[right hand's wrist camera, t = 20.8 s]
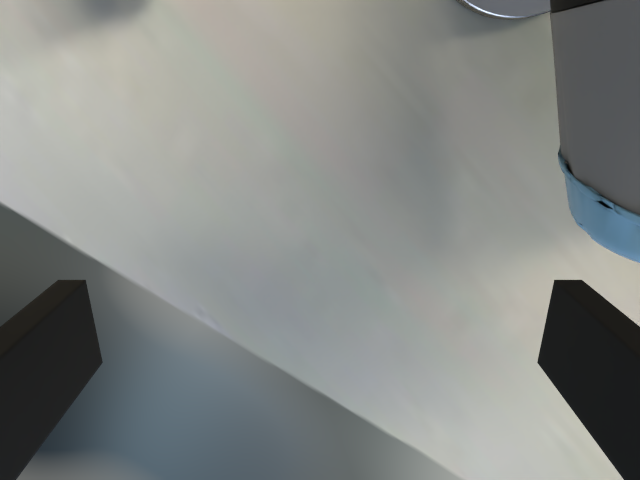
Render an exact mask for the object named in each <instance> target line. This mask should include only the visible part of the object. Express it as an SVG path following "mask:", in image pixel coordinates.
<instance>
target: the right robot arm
mask: <svg viewBox="0 0 640 480" xmlns="http://www.w3.org/2000/svg"><path fill="white" fill-rule="evenodd" d="M457 1H458V2H459V3H460V4H462V5H463V6H465V7H466V8H468V9H470V10H472V11H474V12H476V13H478V14H481V15H484V16H487V17H491V18H497V19H521V18H527V17H532V16H536V15H539V14H543V13H547V12H549V11H551V12H552V13H550V17H551V28H552V40H553V51H554V63H555V77H556V91H557V105H558V119H559V133H560V149H559V152H558V160H559V164H560V167H561V169H562V171H563V173H564V174H565V181H566V188H567V195H568V202H569V207H570V211H571V214H572V216H573V218H574V220H575V221H576V223H577V224H578V225H579V226H580V227H581V228H582V229H583V230H585V231H586V232H587V233H588V234H589V235H590V237H591V238H592V239H593V240H594V241H596V242H597V243H598V244H600V245H602V246H603V247H605V248H607V249H609V250H610V251H612V252H614V253H616V254H618V255H621V256H623V257H625V258H628V259H630V260H633V261H636V262H639V263H640V0H457ZM101 364H102V357H101V353H100V348H99V343H98V338H97V333H96V328H95V324H94V319H93V314H92V309H91V304H90V299H89V294H88V290H87V285H86V280H58V281H56V282H55V283H54V284H53V285H51V286H50V287H49V288H48V289H47V290H45V291H44V292H43V293H42V294H40V295H39V296H38V297H37V298H35V299H34V300H33V301H32V302H30V303H29V304H28V305H27V306H26V307H24V308H23V309H22V310H21V311H19V312H18V313H17V314H16V315H14V316H13V317H12V318H11V319H10V320H8V321H7V322H6V323H5V324H3V325H2V326H1V327H0V480H16V479H17V478H18V476H19V475H20V474H21V472H22V471H23V469H24V468H25V467H26V465H27V464H28V463H29V461H30V460H31V459H32V457H33V456H34V455H35V453H36V452H37V451H38V449H39V448H40V446H41V445H42V444H43V442H44V441H45V440H46V438H47V437H48V436H49V434H50V433H51V432H52V430H53V429H54V427H55V426H56V425H57V423H58V422H59V421H60V419H61V418H62V417H63V415H64V414H65V413H66V411H67V410H68V409H69V407H70V406H71V404H72V403H73V402H74V400H75V399H76V398H77V396H78V395H79V394H80V392H81V391H82V390H83V388H84V387H85V385H86V384H87V383H88V381H89V380H90V379H91V377H92V376H93V375H94V373H95V372H96V371H97V369H98V368H99V367H100V365H101ZM538 364H539V365H540V367H541V368H542V369H543V371H544V372H545V373H546V375H547V376H548V377H549V379H550V380H551V381H552V383H553V384H554V386H555V387H556V388H557V390H558V391H559V392H560V394H561V395H562V396H563V398H564V399H565V400H566V402H567V403H568V404H569V406H570V407H571V409H572V410H573V411H574V413H575V414H576V415H577V417H578V418H579V419H580V421H581V422H582V423H583V425H584V426H585V427H586V429H587V430H588V432H589V433H590V434H591V436H592V437H593V438H594V440H595V441H596V442H597V444H598V445H599V446H600V448H601V449H602V451H603V452H604V453H605V455H606V456H607V457H608V459H609V460H610V461H611V463H612V464H613V465H614V467H615V468H616V469H617V471H618V472H619V474H620V475H621V476H622V478H623V479H624V480H640V327H639V326H638V325H637V324H636V323H634V322H633V321H632V320H631V319H629V318H628V317H627V316H626V315H624V314H623V313H622V312H621V311H619V310H618V309H617V308H616V307H615V306H613V305H612V304H611V303H610V302H608V301H607V300H606V299H605V298H603V297H602V296H601V295H600V294H598V293H597V292H596V291H595V290H594V289H592V288H591V287H590V286H589V285H587V284H586V283H585V282H584V281H582V280H554V285H553V289H552V294H551V299H550V304H549V309H548V314H547V319H546V323H545V328H544V333H543V338H542V343H541V348H540V353H539V357H538Z"/></svg>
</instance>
